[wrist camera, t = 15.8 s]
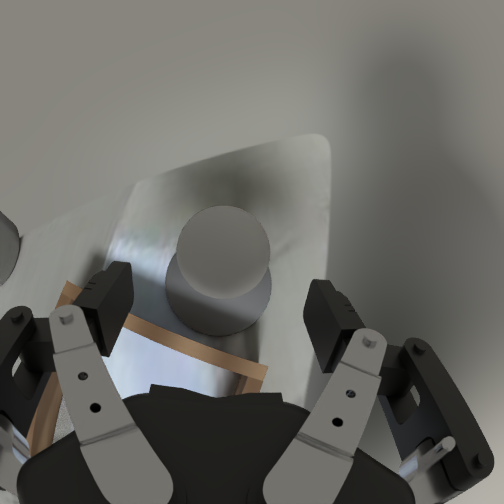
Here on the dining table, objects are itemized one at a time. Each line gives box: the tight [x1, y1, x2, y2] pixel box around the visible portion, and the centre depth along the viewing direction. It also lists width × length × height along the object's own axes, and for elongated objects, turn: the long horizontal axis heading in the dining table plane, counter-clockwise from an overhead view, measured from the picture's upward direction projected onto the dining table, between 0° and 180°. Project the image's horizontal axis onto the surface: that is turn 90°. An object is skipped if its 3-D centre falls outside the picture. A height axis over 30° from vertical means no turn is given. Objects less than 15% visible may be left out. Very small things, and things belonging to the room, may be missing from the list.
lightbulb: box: [177, 205, 270, 299], centre depth 20 cm, size 6×6×11 cm
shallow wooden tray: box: [26, 281, 268, 457], centre depth 17 cm, size 18×24×4 cm
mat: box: [165, 252, 271, 336], centre depth 25 cm, size 10×10×1 cm
